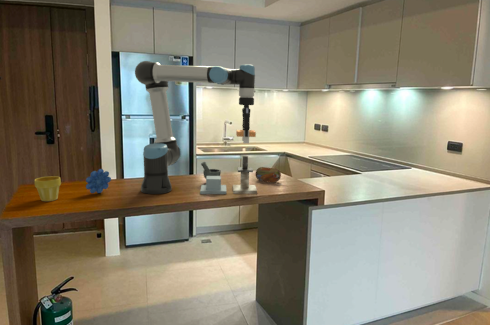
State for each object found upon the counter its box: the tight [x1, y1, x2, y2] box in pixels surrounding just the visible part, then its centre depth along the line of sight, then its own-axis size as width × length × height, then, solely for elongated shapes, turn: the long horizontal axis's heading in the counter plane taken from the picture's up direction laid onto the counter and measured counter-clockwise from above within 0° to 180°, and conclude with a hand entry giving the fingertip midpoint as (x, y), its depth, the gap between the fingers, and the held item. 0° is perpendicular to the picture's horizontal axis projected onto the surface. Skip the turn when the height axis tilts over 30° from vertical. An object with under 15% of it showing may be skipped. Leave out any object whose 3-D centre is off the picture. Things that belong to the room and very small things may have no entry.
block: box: [199, 175, 227, 195], centre depth 183 cm, size 13×13×7 cm
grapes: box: [85, 168, 112, 194], centre depth 174 cm, size 12×7×12 cm, turn 120°
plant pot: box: [34, 175, 62, 202], centre depth 161 cm, size 10×10×10 cm
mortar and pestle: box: [200, 161, 221, 180], centre depth 200 cm, size 11×9×12 cm
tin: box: [255, 166, 282, 183], centre depth 206 cm, size 15×3×8 cm, turn 65°
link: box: [235, 129, 257, 138], centre depth 180 cm, size 9×9×2 cm
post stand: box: [232, 155, 258, 195], centre depth 184 cm, size 12×12×18 cm
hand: (245, 142), depth 181 cm, fingers closed on link, 9 cm apart
